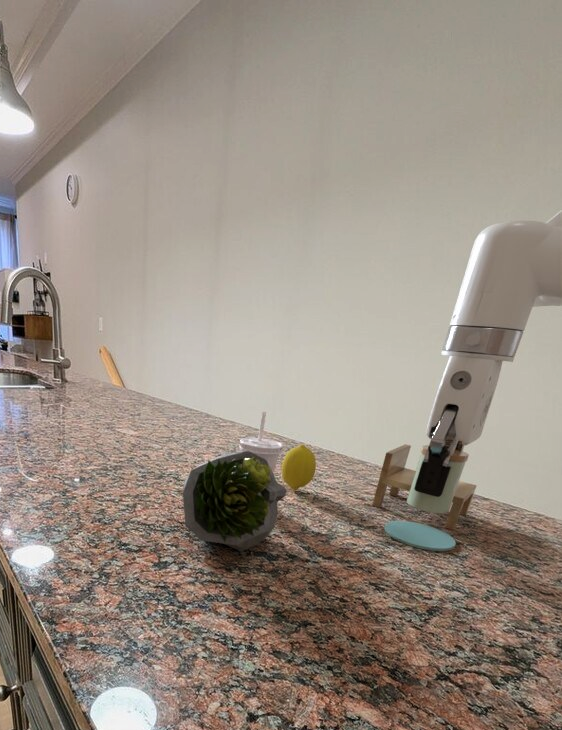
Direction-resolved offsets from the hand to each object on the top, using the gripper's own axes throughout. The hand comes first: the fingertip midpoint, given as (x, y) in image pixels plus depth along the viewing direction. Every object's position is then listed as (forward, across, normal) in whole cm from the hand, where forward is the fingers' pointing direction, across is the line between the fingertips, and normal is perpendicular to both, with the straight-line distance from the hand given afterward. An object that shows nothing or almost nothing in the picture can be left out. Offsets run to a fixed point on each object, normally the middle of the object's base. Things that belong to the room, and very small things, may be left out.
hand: (433, 487), depth 60 cm
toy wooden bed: (+7, +12, +3) cm, 14 cm away
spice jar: (+3, 0, 0) cm, 3 cm away
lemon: (+8, +3, +21) cm, 22 cm away
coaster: (+7, 0, 0) cm, 7 cm away
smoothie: (+8, -9, +22) cm, 25 cm away
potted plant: (+8, -23, +16) cm, 29 cm away
